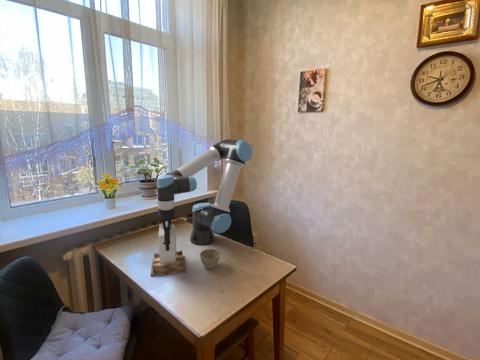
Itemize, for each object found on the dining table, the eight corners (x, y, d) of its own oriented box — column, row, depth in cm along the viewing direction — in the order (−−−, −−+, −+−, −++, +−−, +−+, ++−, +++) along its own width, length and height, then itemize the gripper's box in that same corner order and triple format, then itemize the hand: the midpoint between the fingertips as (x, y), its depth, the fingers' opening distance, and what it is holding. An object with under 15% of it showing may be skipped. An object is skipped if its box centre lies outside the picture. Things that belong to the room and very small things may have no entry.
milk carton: (162, 257, 126) (160, 222, 122) (176, 256, 127) (175, 221, 123) (159, 264, 119) (157, 227, 115) (174, 264, 120) (173, 227, 116)
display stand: (184, 257, 132) (184, 249, 131) (185, 271, 119) (185, 263, 118) (152, 260, 128) (152, 252, 127) (150, 276, 115) (150, 267, 114)
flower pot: (203, 274, 118) (203, 260, 116) (197, 263, 126) (197, 251, 125) (223, 269, 122) (223, 256, 121) (215, 259, 131) (215, 247, 129)
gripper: (159, 200, 128) (160, 238, 132) (156, 217, 104) (158, 263, 109) (174, 200, 130) (175, 237, 134) (175, 216, 106) (176, 261, 111)
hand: (168, 249), depth 122 cm, fingers open, 13 cm apart
